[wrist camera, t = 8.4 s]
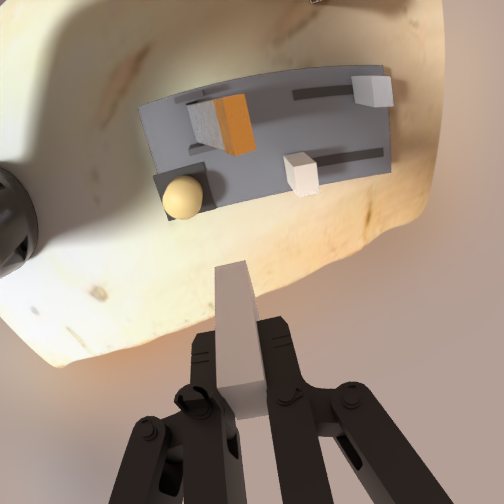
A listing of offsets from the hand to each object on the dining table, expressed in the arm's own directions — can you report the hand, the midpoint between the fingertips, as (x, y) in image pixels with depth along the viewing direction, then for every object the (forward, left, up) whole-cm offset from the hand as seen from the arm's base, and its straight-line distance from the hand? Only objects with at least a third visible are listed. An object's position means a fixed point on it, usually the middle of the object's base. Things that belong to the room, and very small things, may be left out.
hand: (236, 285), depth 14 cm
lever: (-1, +7, -15) cm, 16 cm away
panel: (+6, +4, -19) cm, 20 cm away
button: (-4, 0, -16) cm, 16 cm away
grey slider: (+15, +7, -16) cm, 23 cm away
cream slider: (+7, 0, -16) cm, 17 cm away
